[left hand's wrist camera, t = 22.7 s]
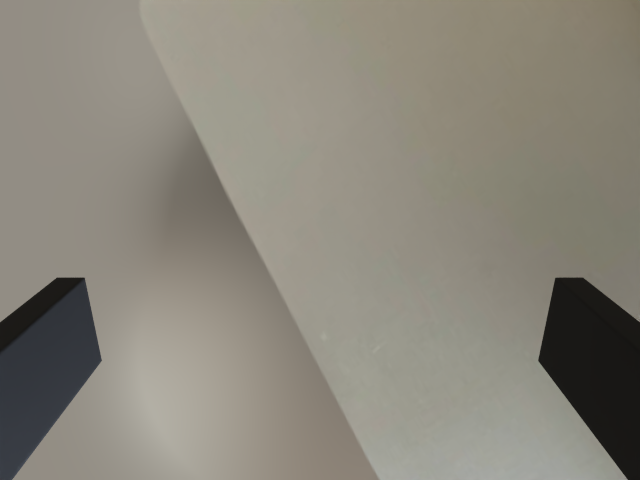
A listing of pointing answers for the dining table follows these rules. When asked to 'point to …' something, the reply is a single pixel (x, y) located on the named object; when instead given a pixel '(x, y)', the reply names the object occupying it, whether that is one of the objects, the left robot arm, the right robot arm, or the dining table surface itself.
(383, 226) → the dining table surface
